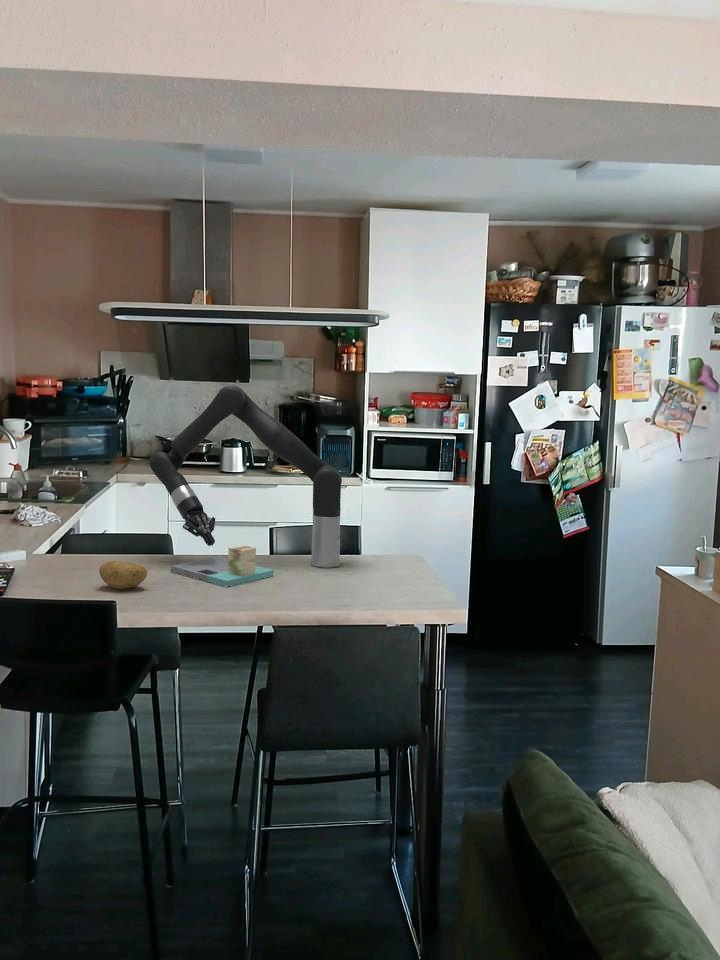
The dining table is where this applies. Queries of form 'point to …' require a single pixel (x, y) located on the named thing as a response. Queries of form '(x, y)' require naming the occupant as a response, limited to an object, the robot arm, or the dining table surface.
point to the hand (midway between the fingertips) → (212, 544)
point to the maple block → (241, 560)
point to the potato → (122, 574)
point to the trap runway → (218, 571)
